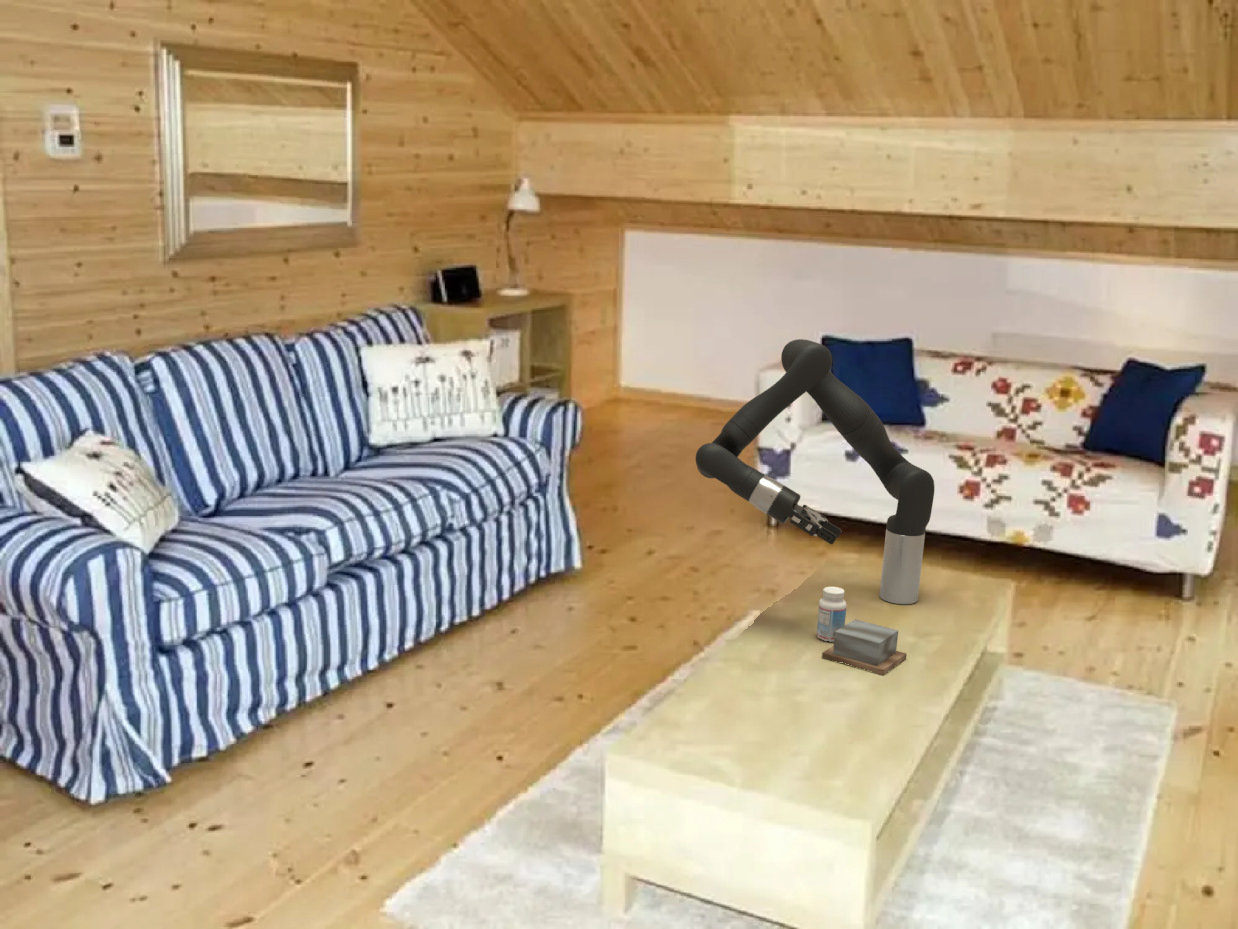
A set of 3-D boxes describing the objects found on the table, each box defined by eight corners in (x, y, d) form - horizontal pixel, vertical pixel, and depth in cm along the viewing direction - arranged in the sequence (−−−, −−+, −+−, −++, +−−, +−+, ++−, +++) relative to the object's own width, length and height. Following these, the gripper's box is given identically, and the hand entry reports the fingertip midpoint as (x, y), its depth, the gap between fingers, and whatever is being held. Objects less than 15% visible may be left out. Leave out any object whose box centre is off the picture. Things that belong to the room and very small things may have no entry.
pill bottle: (842, 634, 284) (847, 586, 281) (844, 644, 278) (849, 595, 275) (815, 632, 284) (819, 584, 282) (816, 641, 279) (820, 593, 276)
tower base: (846, 642, 279) (848, 615, 278) (906, 658, 271) (909, 631, 270) (821, 658, 269) (824, 630, 268) (883, 675, 262) (886, 647, 260)
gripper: (777, 488, 274) (842, 528, 271) (787, 481, 288) (849, 518, 285) (760, 517, 276) (824, 557, 273) (771, 509, 290) (832, 546, 287)
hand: (837, 537), depth 279 cm, fingers open, 8 cm apart
